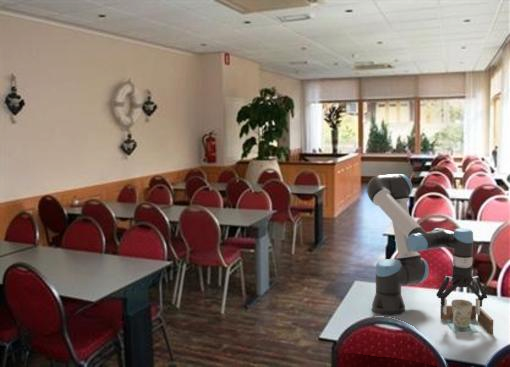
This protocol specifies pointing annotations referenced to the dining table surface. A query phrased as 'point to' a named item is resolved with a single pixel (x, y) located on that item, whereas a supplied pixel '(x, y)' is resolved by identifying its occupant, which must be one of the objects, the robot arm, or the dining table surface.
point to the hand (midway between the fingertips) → (460, 313)
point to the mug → (461, 313)
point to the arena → (482, 318)
